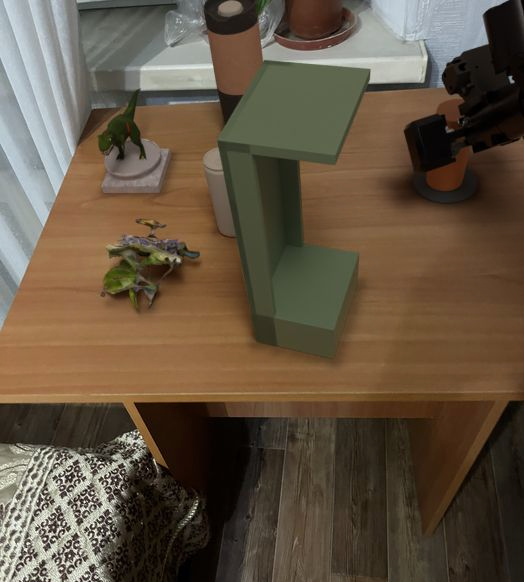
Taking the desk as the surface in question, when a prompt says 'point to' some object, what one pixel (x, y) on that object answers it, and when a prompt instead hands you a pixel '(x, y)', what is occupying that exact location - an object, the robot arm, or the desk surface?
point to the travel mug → (233, 48)
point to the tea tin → (454, 172)
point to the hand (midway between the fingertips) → (447, 142)
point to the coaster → (446, 196)
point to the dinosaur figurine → (131, 156)
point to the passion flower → (144, 247)
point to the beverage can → (218, 192)
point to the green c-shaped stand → (290, 200)
